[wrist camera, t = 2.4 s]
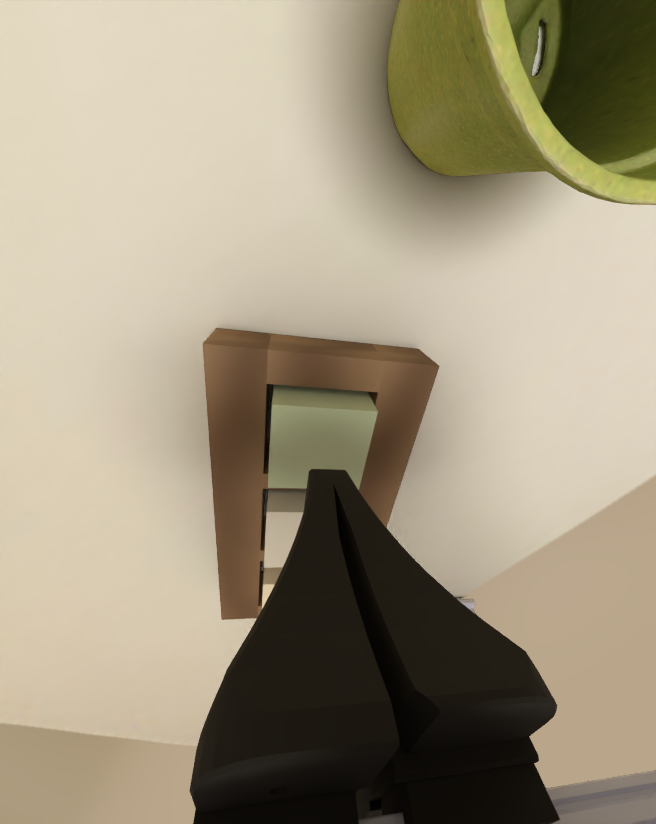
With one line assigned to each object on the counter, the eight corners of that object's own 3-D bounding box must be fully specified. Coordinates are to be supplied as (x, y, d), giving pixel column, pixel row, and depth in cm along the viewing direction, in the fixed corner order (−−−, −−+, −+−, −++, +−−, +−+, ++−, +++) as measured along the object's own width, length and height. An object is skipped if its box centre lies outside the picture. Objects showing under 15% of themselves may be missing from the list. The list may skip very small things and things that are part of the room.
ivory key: (345, 479, 17) (353, 512, 15) (334, 530, 20) (340, 566, 17) (269, 477, 17) (266, 512, 15) (266, 530, 19) (263, 567, 17)
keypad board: (418, 349, 15) (439, 365, 13) (352, 581, 25) (358, 613, 23) (216, 328, 14) (202, 343, 12) (228, 584, 23) (221, 619, 21)
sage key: (365, 386, 15) (378, 411, 12) (350, 458, 17) (358, 489, 15) (274, 379, 14) (271, 404, 12) (270, 454, 16) (267, 487, 14)
